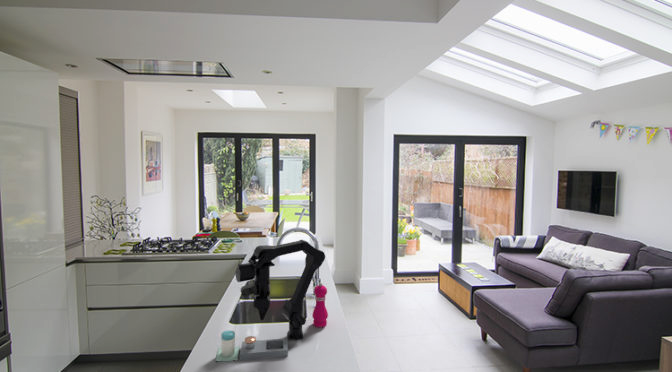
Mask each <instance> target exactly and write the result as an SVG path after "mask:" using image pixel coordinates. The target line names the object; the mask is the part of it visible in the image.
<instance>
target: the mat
mask: <svg viewBox="0 0 672 372" xmlns="http://www.w3.org/2000/svg"><path fill="white" fill-rule="evenodd" d="M240 349H241V347H240V346H235V353H234V355H232V356H230V357H223V356H222V355H221V347H219V348H218V351H217V354H216V357H215V360H214V361H215V363H217V362H216V361H223V362H232V361H233V360H235V361H238V360H239V359H238V358H239V355H240ZM233 362H234V361H233Z"/></svg>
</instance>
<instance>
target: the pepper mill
mask: <svg viewBox="0 0 672 372" xmlns="http://www.w3.org/2000/svg"><path fill="white" fill-rule="evenodd" d="M327 293H328V289H327V287H326V286H325V285H324V284H323V282H318V285H316V286H315V287H314V290H313V294H314V295H315V296H314V299H315V306H314V308H313V311H312V318H313V321H312V322H313V323H312V324H313V326H314V327H316V328H324V327H326V326H327V325H328V323H327V321H328V320H327V319H328V317H329V313H328V310H327V307H326V303H325V302H326V298H327Z"/></svg>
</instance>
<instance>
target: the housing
mask: <svg viewBox="0 0 672 372" xmlns="http://www.w3.org/2000/svg"><path fill="white" fill-rule="evenodd" d="M274 347H282V348H277V349H267V348H274ZM288 347H289V345H288V337H287V338H276V339H275V338H274V339H260V340H256V342H255V343H254V349H247V344H246V343H245V340H244V341H241V347H240V351H239V360H240V361H247V360H258V359H259V360H260V359H270V358H282V357H284V358H285V357H288V356H289V348H288Z"/></svg>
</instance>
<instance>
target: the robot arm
mask: <svg viewBox="0 0 672 372" xmlns="http://www.w3.org/2000/svg"><path fill="white" fill-rule="evenodd" d="M297 252H302V253H304V254H306V255H305V259H304V260H305V262H304V263H305V264H304V265H305V266H304V269H303V271H302V274H301V275H300V279H299V280H298V282H297V285H296V288H295V290H294V292H293V294H292V297H291V298H290V299H285V300H284V304H283V306H282V307H281V308H282V315H283V316H284V317H285V318H286V320H287V321H288V331H287V340H300V339H301V340H302V339H304V333H303V326H304V325H306V322H307V319H306V318H305V317H304V316H302V315H303V303H304V302H303V301H304V299H305V297H306V294H307V292H308V291H309V290H308V289H309V287H310V285H311V283H312V280H313V277H314V275H315V273H316V271H317V270H318V269H319V268H320V267H321V266H322V264H323V263H324V261H325V259H326V254H325V252H324V251H322V250H321V249H318V248H316V247H314V246H313V245H311V244H310V243H309V242H308V241H306V240H305V239H299V240H296V241H292V242H291V241H290V242H287V243H282V244H277V245H257V246H256V247H255V248H254V249H253V254H252V255H251V256H250V257H249V259H248V261H247V263H238V264H237V267H236V269H235V271H234V272H235V280H236V282H237V283H243V282H247V281H248V282H249V281H254V282H251V283H248V284H245V285H243V286H241V287H240V293H241V294H240V295H241V297H242V298H243V299H246V298H247V297H249V296H252V295H254V296H255V297H254V298H253V308H255V309H257V311H258V315H259V318H260V321H264V319H265V317H266V315H267V312H268V310H269V308H270V307H271V297H270V294H271V284H270V281H271V279H270V275H271V273H270V272H271V267H274V266H276V264H275V263H273V261H274V260H275V259H276V258H278V257H280V256H285V255H291V254H294V253H297Z"/></svg>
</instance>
